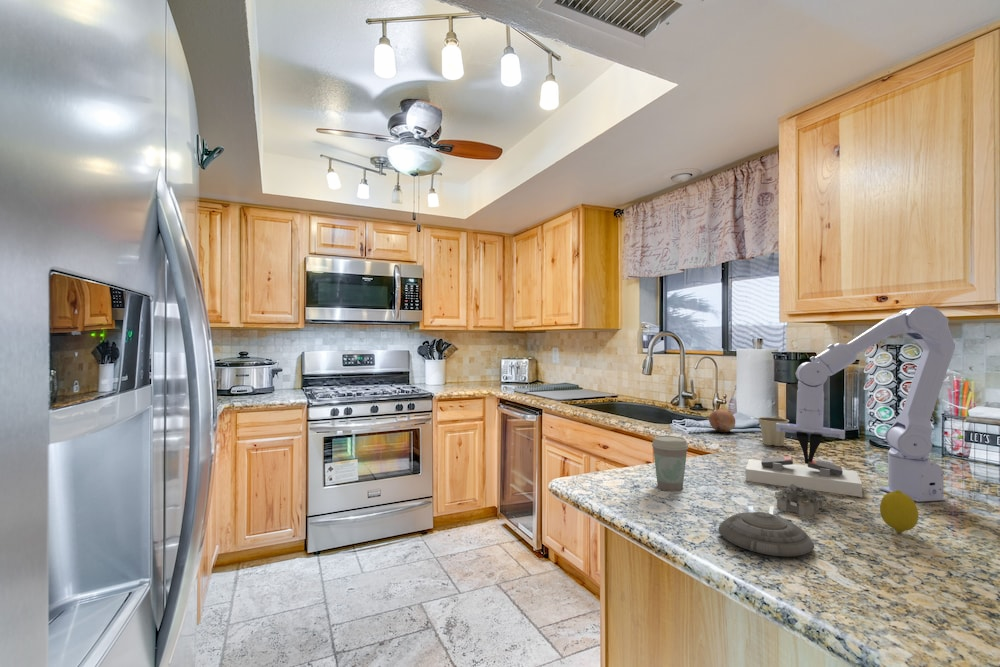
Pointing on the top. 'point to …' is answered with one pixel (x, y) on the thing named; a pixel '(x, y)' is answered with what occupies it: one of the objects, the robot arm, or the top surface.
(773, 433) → the flower pot
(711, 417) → the onion
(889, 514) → the lemon
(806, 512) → the grey stone ruin model
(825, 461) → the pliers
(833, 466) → the breaker near
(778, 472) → the breaker panel
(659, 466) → the coffee cup
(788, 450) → the top surface
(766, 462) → the breaker far
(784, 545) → the flying saucer
